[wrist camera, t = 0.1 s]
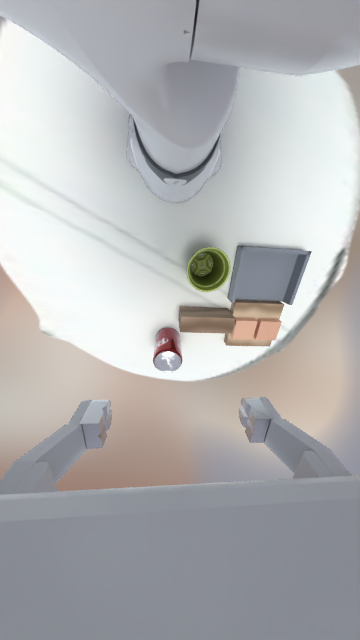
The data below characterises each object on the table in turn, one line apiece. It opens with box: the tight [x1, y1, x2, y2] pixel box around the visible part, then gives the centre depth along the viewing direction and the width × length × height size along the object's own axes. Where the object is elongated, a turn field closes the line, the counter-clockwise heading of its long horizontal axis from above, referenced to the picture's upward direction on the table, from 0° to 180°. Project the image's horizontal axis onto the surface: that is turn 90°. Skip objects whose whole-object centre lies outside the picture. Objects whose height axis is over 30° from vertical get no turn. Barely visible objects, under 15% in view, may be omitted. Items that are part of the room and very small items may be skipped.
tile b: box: [253, 318, 281, 340], centre depth 51 cm, size 6×6×2 cm
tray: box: [228, 246, 312, 305], centre depth 45 cm, size 14×17×4 cm
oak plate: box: [224, 300, 284, 346], centre depth 52 cm, size 14×14×2 cm
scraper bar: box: [179, 306, 235, 333], centre depth 48 cm, size 4×14×7 cm, turn 86°
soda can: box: [153, 328, 182, 372], centre depth 48 cm, size 7×7×12 cm
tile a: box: [230, 318, 258, 340], centre depth 50 cm, size 6×6×2 cm
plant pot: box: [187, 247, 230, 292], centre depth 41 cm, size 9×9×9 cm
